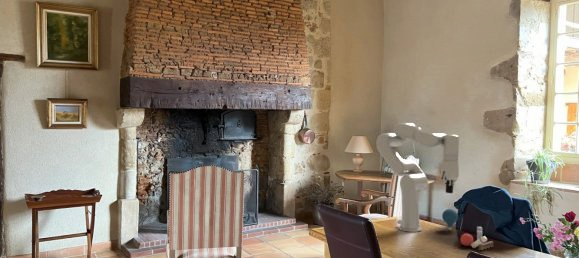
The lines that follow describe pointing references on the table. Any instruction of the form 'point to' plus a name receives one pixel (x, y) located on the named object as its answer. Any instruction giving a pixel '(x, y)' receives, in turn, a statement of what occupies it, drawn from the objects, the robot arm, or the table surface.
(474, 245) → the ivory pin
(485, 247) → the backstop
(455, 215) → the blue ovoid piece
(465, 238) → the ball
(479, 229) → the slate-blue pin
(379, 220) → the table surface
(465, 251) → the table surface
